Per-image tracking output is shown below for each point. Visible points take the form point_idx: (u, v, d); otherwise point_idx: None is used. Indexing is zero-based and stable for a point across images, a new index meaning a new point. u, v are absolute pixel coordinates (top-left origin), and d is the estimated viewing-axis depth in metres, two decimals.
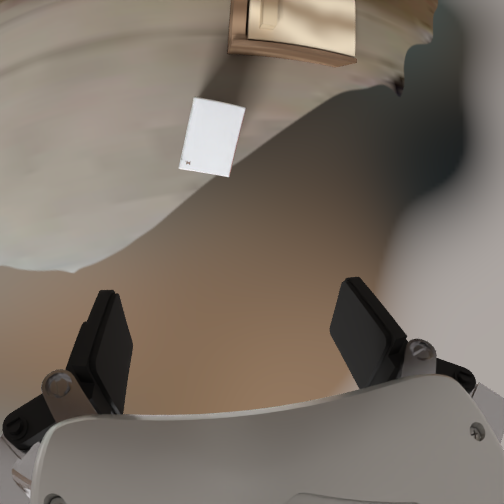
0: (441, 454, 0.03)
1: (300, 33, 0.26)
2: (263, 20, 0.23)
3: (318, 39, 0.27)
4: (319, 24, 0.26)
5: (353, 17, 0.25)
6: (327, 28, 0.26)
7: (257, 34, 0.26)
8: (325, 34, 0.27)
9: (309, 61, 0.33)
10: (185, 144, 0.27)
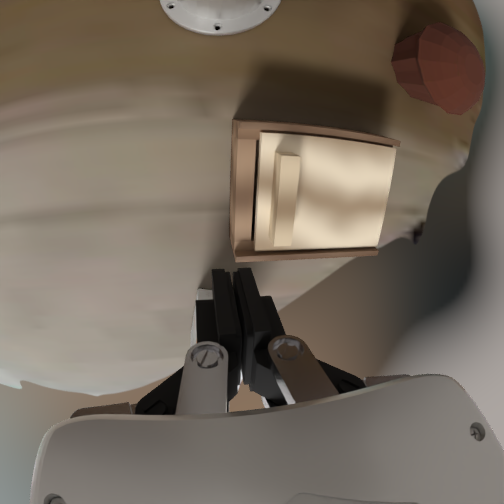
0: (441, 454, 0.03)
1: (319, 233, 0.28)
2: (274, 240, 0.25)
3: (339, 236, 0.28)
4: (343, 215, 0.27)
5: (386, 193, 0.27)
6: (352, 218, 0.28)
7: (266, 244, 0.27)
8: (348, 227, 0.28)
9: None
10: None
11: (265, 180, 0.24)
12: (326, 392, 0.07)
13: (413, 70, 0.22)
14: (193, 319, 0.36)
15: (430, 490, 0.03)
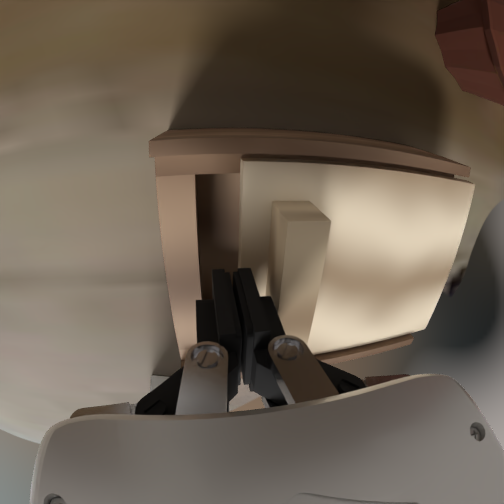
0: (441, 454, 0.03)
1: (346, 330, 0.16)
2: None
3: (376, 328, 0.16)
4: (388, 299, 0.15)
5: (453, 255, 0.15)
6: (400, 301, 0.16)
7: None
8: (392, 314, 0.16)
9: None
10: None
11: (254, 259, 0.12)
12: (326, 392, 0.07)
13: (477, 48, 0.10)
14: None
15: (430, 490, 0.03)
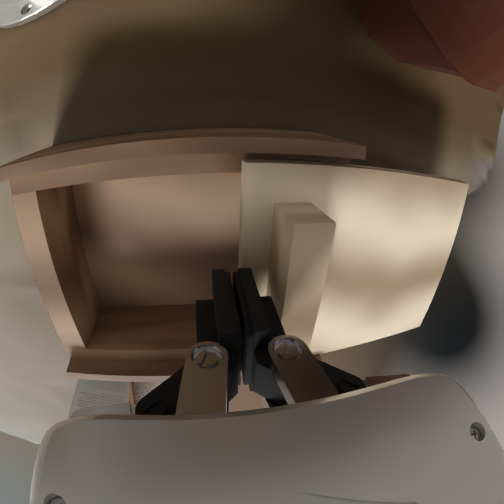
0: (441, 454, 0.03)
1: (344, 330, 0.16)
2: None
3: (373, 327, 0.17)
4: (385, 298, 0.16)
5: (447, 254, 0.15)
6: (396, 300, 0.16)
7: None
8: (388, 313, 0.16)
9: None
10: None
11: (255, 262, 0.12)
12: (326, 392, 0.07)
13: (392, 0, 0.08)
14: None
15: (430, 490, 0.03)
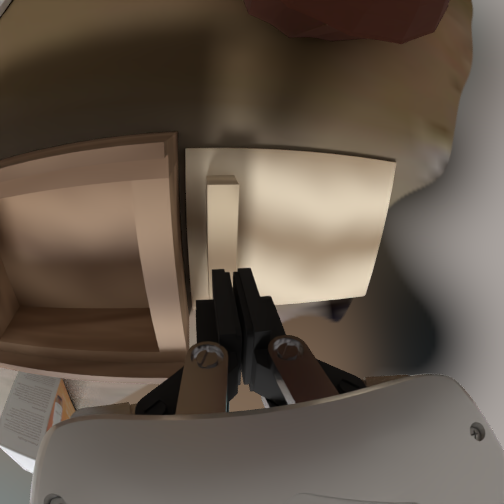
0: (441, 454, 0.03)
1: (281, 285, 0.20)
2: None
3: (310, 288, 0.21)
4: (317, 260, 0.20)
5: (381, 226, 0.19)
6: (329, 263, 0.20)
7: None
8: (324, 276, 0.21)
9: None
10: (16, 461, 0.14)
11: (196, 218, 0.17)
12: (326, 392, 0.07)
13: None
14: None
15: (430, 490, 0.03)
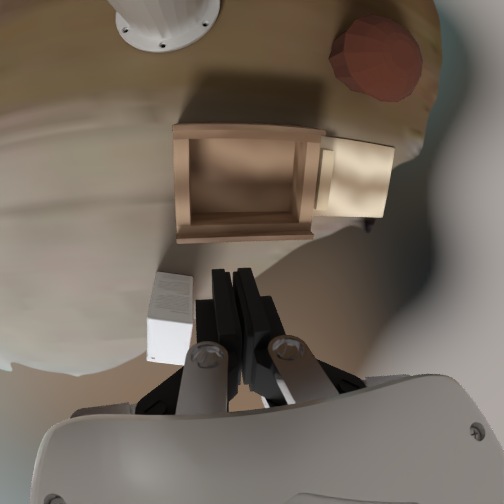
0: (441, 454, 0.03)
1: (343, 205, 0.39)
2: (316, 206, 0.36)
3: (356, 208, 0.40)
4: (359, 193, 0.39)
5: (388, 178, 0.38)
6: (365, 195, 0.39)
7: None
8: (362, 202, 0.39)
9: None
10: (148, 347, 0.32)
11: None
12: (326, 392, 0.07)
13: (344, 64, 0.26)
14: None
15: (430, 490, 0.03)
